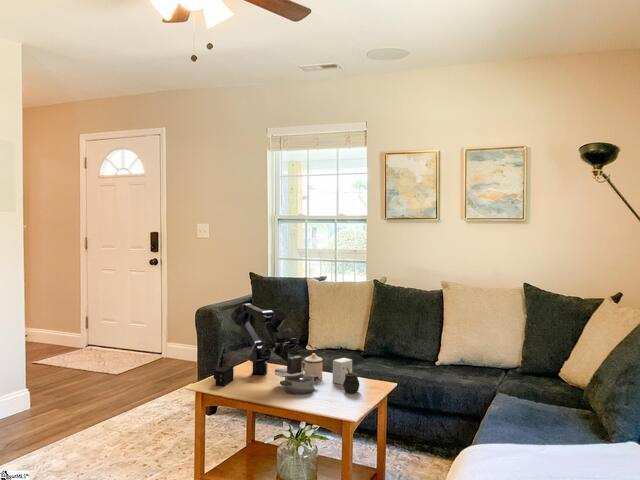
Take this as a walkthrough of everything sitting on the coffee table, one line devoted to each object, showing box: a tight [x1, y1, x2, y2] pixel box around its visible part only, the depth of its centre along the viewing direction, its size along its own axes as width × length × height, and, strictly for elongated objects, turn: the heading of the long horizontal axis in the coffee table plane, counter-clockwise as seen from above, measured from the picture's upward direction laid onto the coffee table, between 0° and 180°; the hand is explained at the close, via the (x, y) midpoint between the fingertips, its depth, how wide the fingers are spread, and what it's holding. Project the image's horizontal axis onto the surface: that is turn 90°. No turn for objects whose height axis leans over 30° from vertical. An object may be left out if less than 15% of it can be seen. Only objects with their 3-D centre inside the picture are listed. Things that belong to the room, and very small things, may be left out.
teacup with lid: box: [302, 353, 324, 381], centre depth 265 cm, size 12×9×12 cm
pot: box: [279, 373, 319, 396], centre depth 245 cm, size 13×19×6 cm
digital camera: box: [213, 364, 235, 387], centre depth 254 cm, size 10×5×7 cm, turn 165°
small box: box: [332, 357, 353, 386], centre depth 258 cm, size 8×6×10 cm
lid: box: [274, 355, 305, 378], centre depth 251 cm, size 13×13×8 cm
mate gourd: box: [342, 368, 360, 394], centre depth 244 cm, size 7×8×10 cm
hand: (287, 360), depth 252 cm, fingers closed
